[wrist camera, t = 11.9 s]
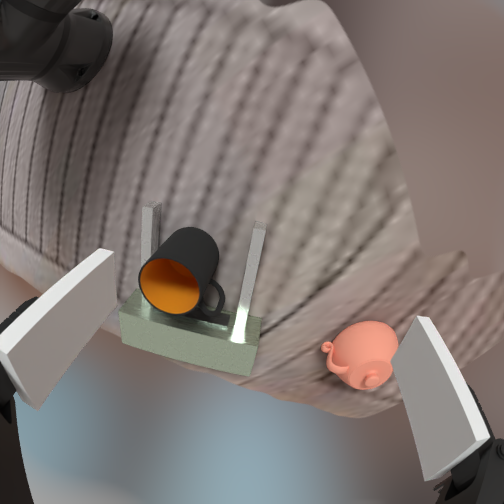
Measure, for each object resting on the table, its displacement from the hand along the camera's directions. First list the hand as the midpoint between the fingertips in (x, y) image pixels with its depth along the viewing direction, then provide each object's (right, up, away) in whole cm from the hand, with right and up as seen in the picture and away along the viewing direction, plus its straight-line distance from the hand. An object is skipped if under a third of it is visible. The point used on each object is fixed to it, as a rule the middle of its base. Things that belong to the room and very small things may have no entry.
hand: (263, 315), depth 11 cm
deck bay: (-9, -2, +33) cm, 35 cm away
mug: (-8, +1, +32) cm, 33 cm away
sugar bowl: (+18, -13, +36) cm, 42 cm away
